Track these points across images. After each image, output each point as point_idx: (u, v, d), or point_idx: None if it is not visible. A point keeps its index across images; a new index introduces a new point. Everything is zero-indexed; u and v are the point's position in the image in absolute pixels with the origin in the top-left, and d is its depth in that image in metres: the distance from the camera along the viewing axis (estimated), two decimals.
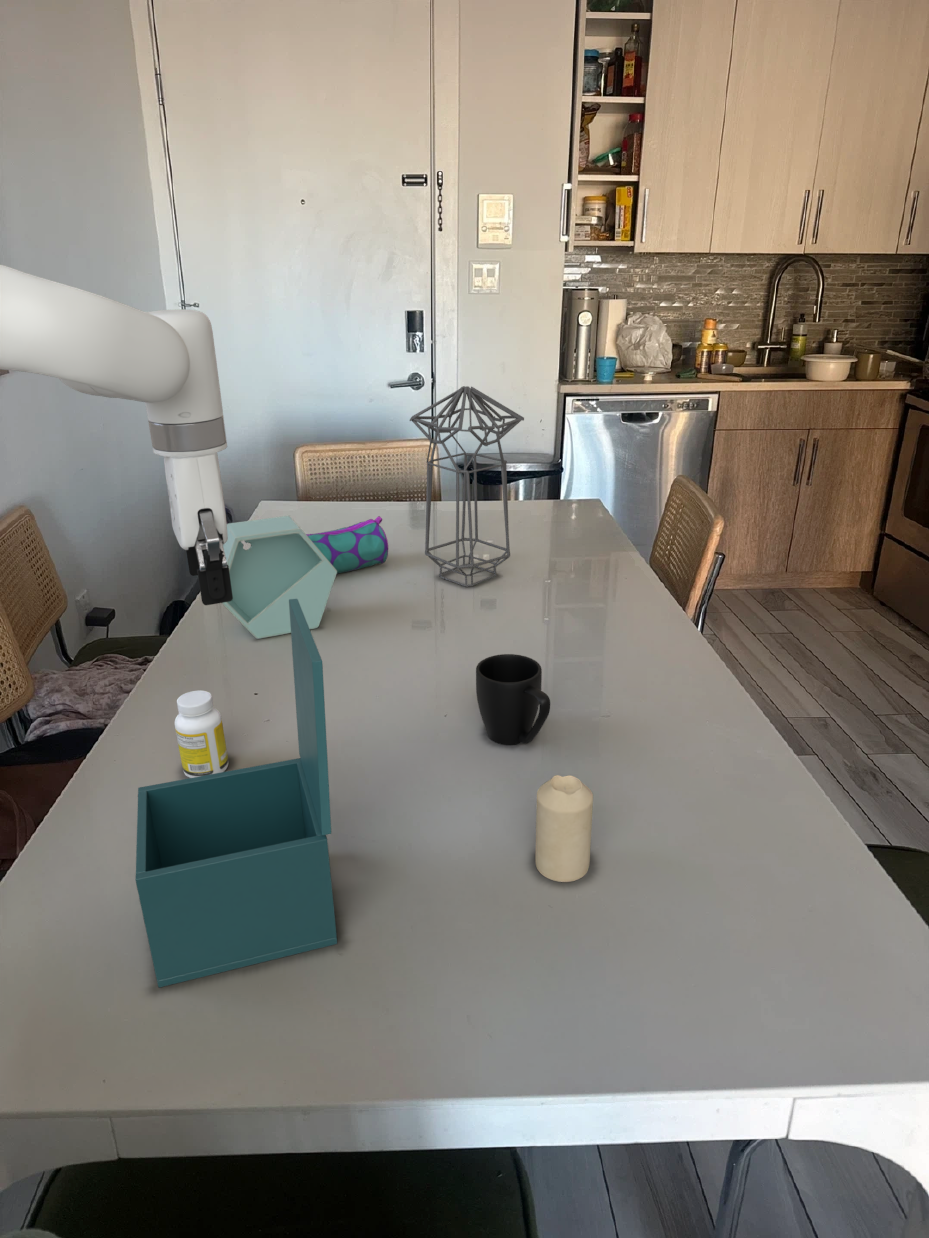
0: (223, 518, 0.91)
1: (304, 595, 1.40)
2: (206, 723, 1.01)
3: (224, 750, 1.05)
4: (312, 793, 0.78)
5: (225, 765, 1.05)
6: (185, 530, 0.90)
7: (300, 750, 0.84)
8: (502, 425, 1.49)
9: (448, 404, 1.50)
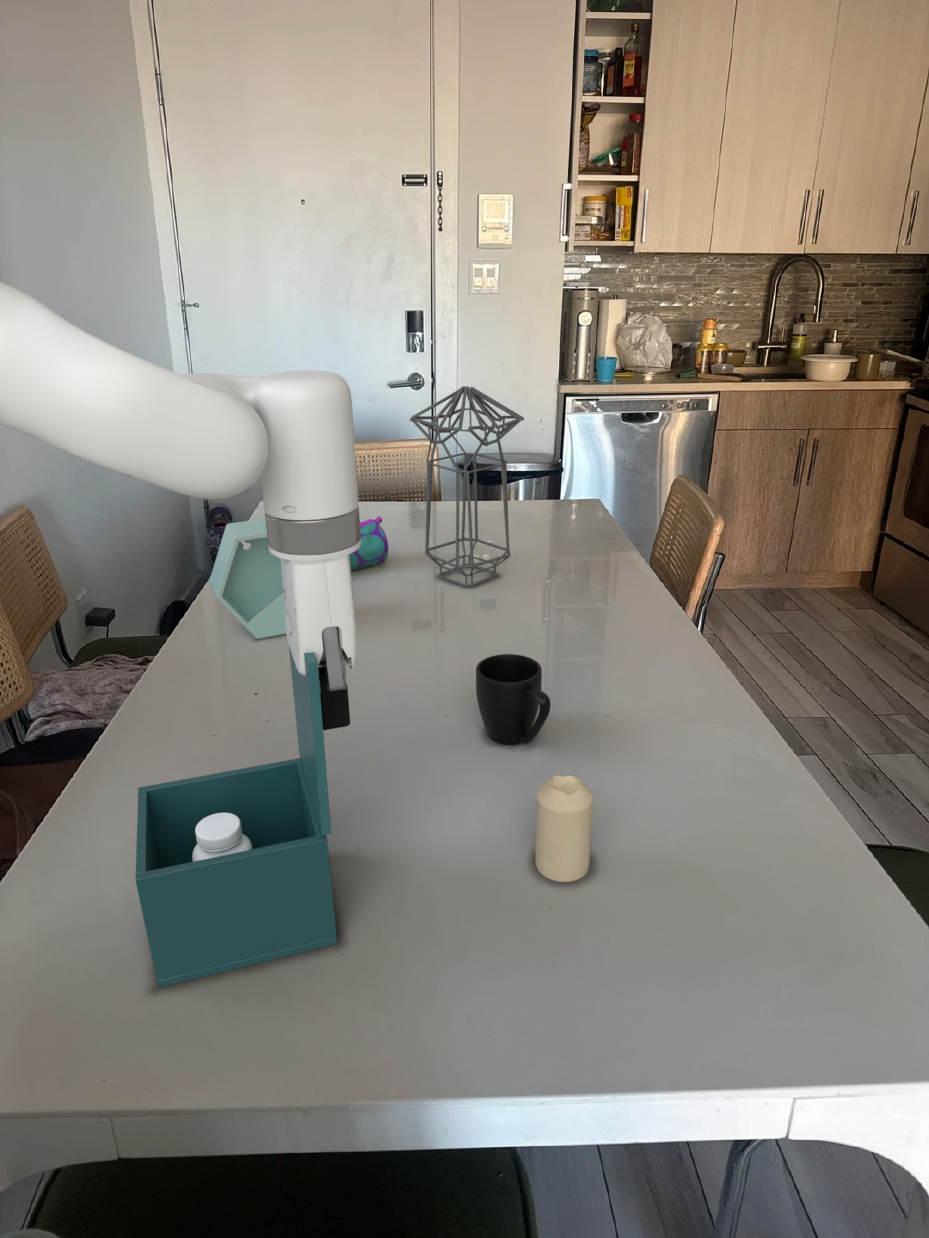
0: (353, 638, 0.70)
1: None
2: None
3: None
4: (312, 793, 0.78)
5: None
6: None
7: (300, 750, 0.84)
8: (502, 425, 1.49)
9: (448, 404, 1.50)
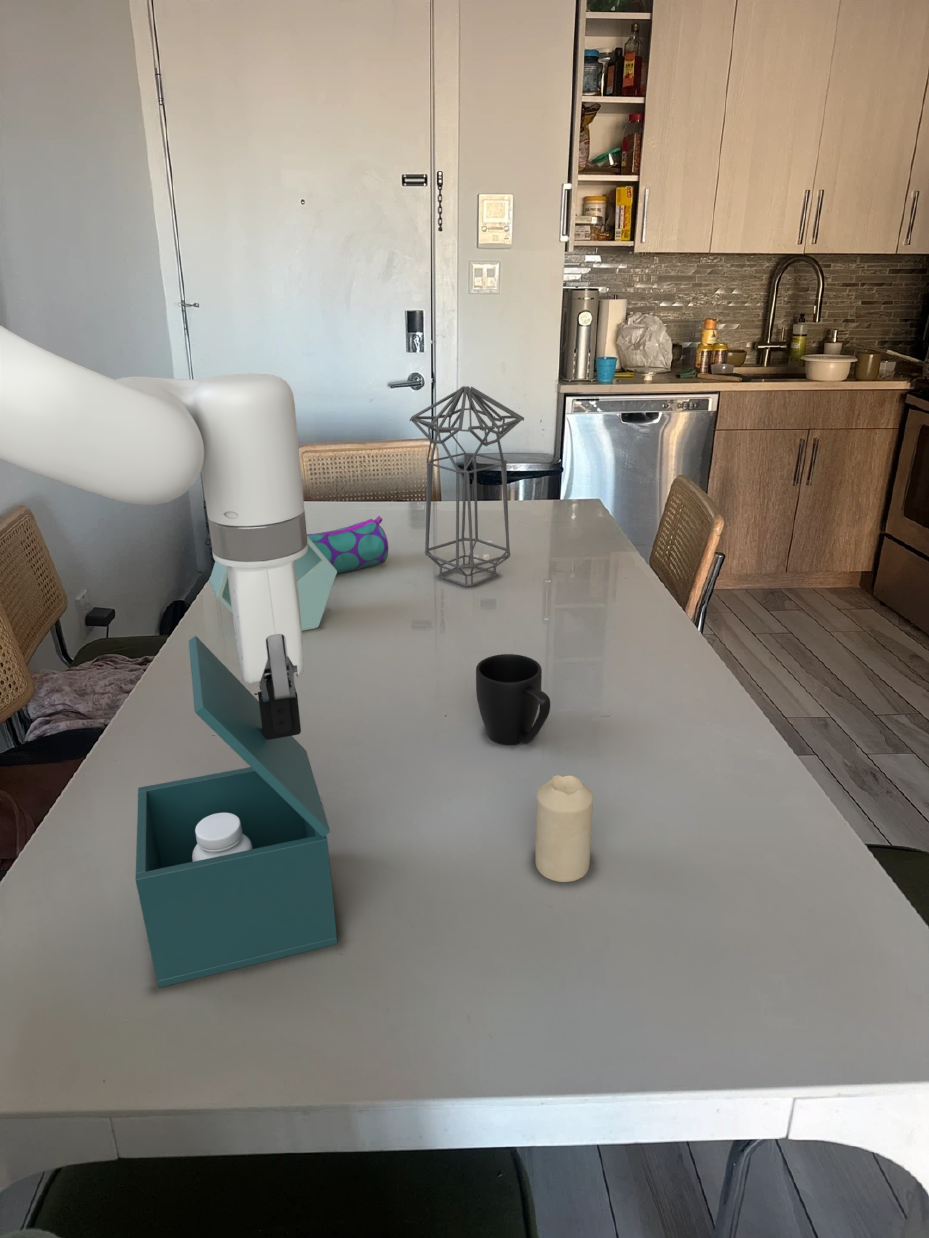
0: (299, 646, 0.69)
1: (304, 595, 1.40)
2: None
3: None
4: None
5: None
6: (249, 662, 0.68)
7: None
8: (502, 425, 1.49)
9: (448, 404, 1.50)
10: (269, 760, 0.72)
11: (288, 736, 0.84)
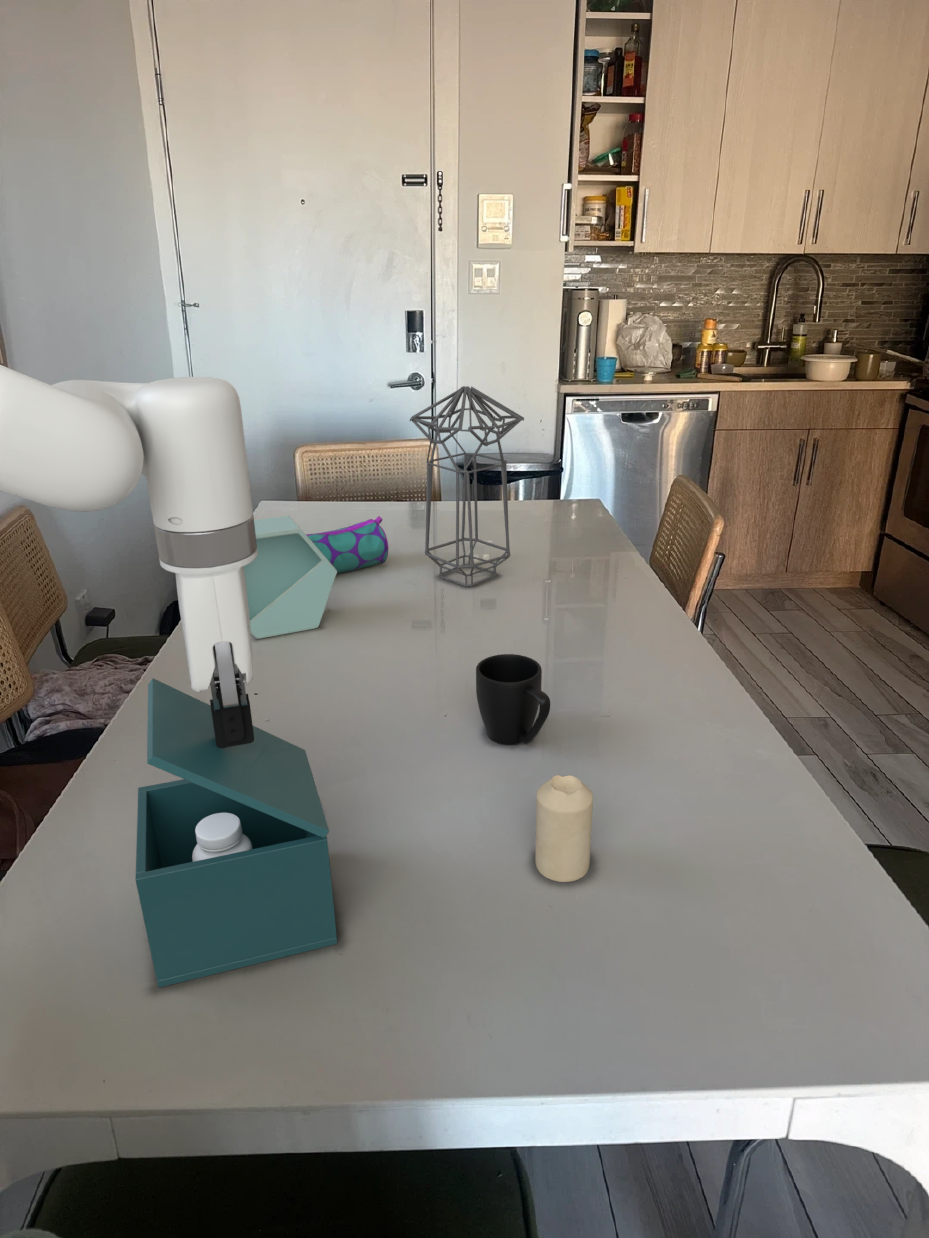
0: (247, 653, 0.68)
1: (304, 595, 1.40)
2: None
3: None
4: None
5: None
6: (196, 670, 0.67)
7: None
8: (502, 425, 1.49)
9: (448, 404, 1.50)
10: (246, 781, 0.73)
11: (279, 743, 0.84)
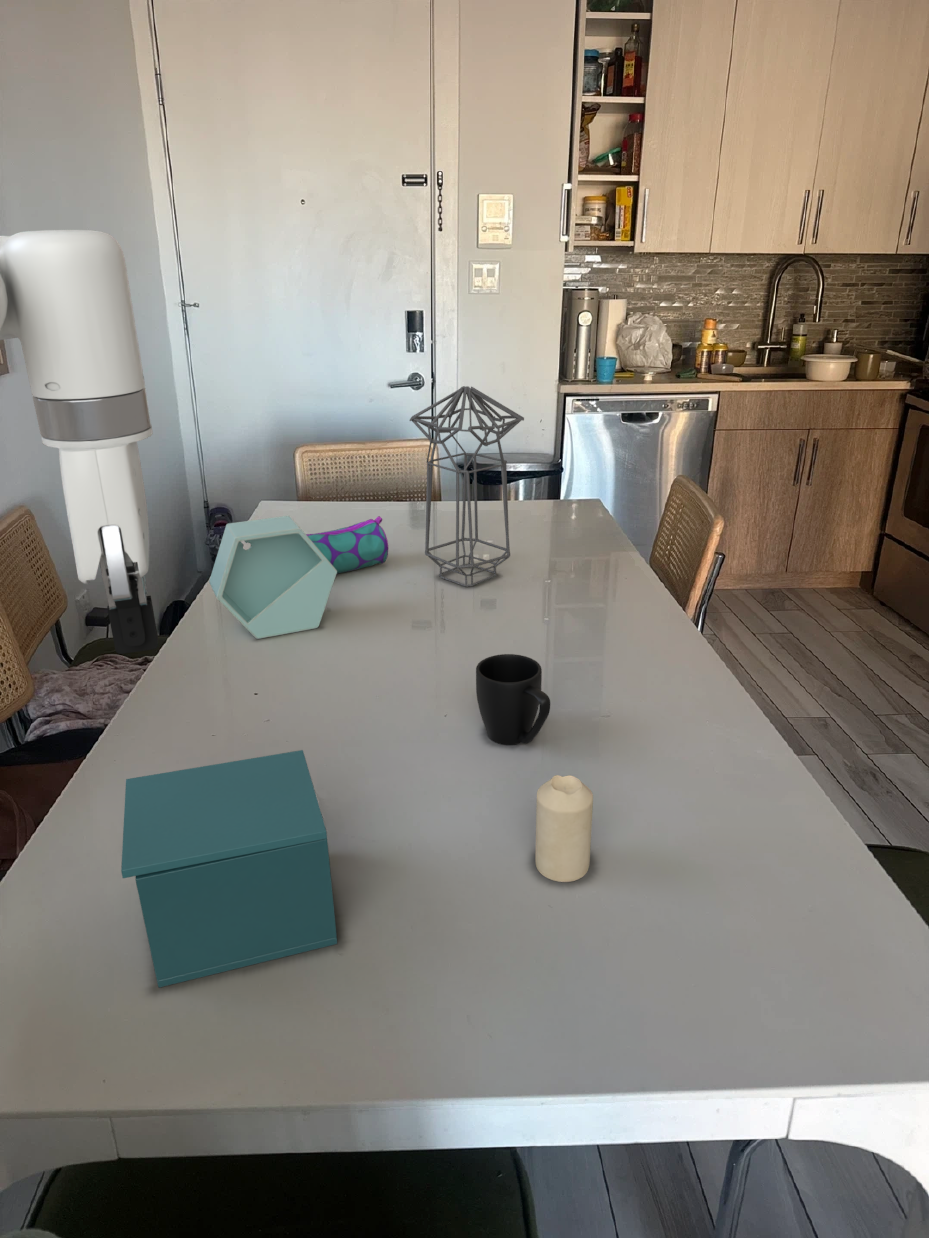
0: (138, 540, 0.62)
1: (304, 595, 1.40)
2: None
3: None
4: None
5: None
6: (80, 556, 0.61)
7: None
8: (502, 425, 1.49)
9: (448, 404, 1.50)
10: (229, 833, 0.74)
11: (272, 761, 0.84)
